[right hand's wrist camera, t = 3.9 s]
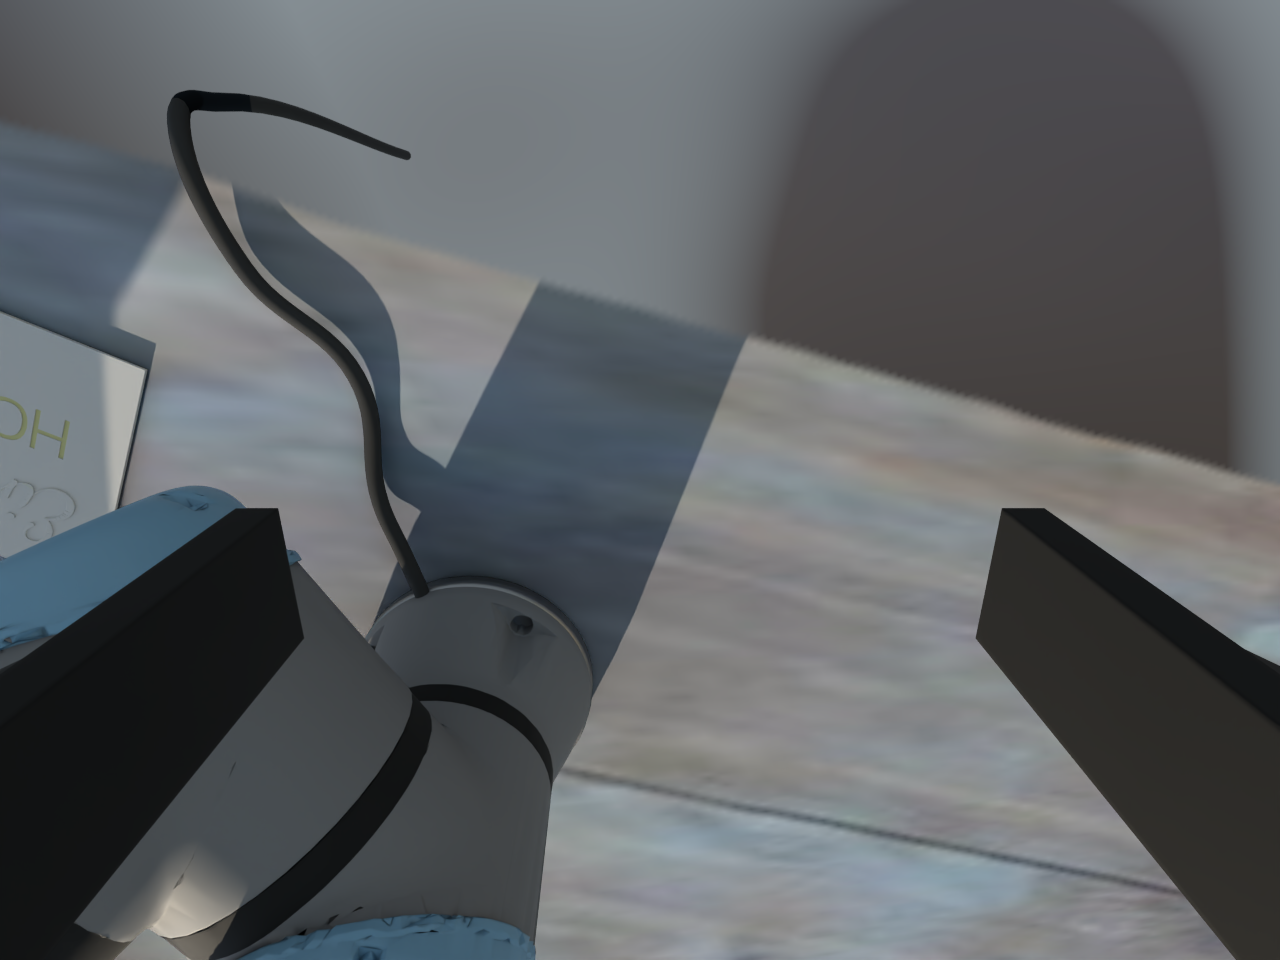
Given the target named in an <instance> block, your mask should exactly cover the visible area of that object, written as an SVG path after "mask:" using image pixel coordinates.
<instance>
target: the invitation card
mask: <svg viewBox="0 0 1280 960" xmlns="http://www.w3.org/2000/svg"><path fill="white" fill-rule="evenodd" d="M146 375H147V369H145V368H142V367H140V366H137V365H135V364H132V363H130V362H127V361H125V360H122V359H119V358H117V357H114V356H112V355H109V354H107V353H104V352H102V351H99V350H97V349H94V348H92V347H89V346H87V345H84V344H82V343H79V342H77V341H74V340H72V339H69V338H67V337H64V336H62V335H59V334H57V333H54V332H52V331H49V330H47V329H44V328H42V327H39V326H37V325H34V324H32V323H29V322H27V321H24V320H21V319H19V318H16V317H14V316H11V315H9V314H6V313H4V312H1V311H0V556H1V557H4V558H7V557H9V556H12V555H14V554H16V553H18V552H20V551H23V550H25V549H27V548H29V547H31V546H34V545H36V544H38V543H40V542H42V541H45V540H47V539H49V538H51V537H54V536H56V535H58V534H61V533H63V532H65V531H67V530H70V529H72V528H74V527H76V526H79V525H81V524H83V523H86V522H88V521H90V520H93V519H95V518H97V517H100V516H102V515H104V514H107V513H109V512H112V511H114V510H117V508H118V503H119V498H120V494H121V489H122V485H123V480H124V475H125V471H126V466H127V462H128V457H129V453H130V448H131V443H132V439H133V434H134V430H135V425H136V420H137V416H138V411H139V407H140V402H141V398H142V393H143V388H144V384H145V379H146Z"/></svg>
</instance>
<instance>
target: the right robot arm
mask: <svg viewBox="0 0 1280 960" xmlns="http://www.w3.org/2000/svg"><path fill="white" fill-rule="evenodd" d="M196 110H199V111H211V112H240V111H241V112H252V113H262V114H267V115H273V116H278V117H283V118H287V119H291V120H294V121H298V122H301V123H305V124H308V125H311V126H314V127H317V128H320V129H323V130H325V131H328V132H331V133H334V134H336V135H339V136H341V137H344V138H347V139H349V140H352V141H354V142H357V143H359V144H362V145H365V146H367V147H370V148H372V149H375V150H377V151H380V152H383V153H385V154H388V155H391V156H394V157H397V158H400V159H404V160H409V159H410V158H411V154H410V152H409V151H406V150H403V149H401V148H398V147H395V146H392V145H389V144H387V143H385V142H382V141H380V140H377V139H375V138H373V137H370V136H368V135H366V134H363V133H361V132H359V131H357V130H354V129H352V128H350V127H347V126H345V125H343V124H340V123H338V122H336V121H333V120H331V119H329V118H326V117H324V116H321V115H319V114H316V113H314V112H311V111H308V110H305V109H303V108H300V107H297V106H294V105H290V104H287V103H284V102H281V101H277V100H273V99H268V98H264V97H260V96H253V95H247V94H240V93H219V92H206V91H199V90H186V91H182V92H179V93H177V94H175V95H174V96H173V97H172V99H171V102H170V104H169V106H168V111H167V125H168V134H169V139H170V144H171V148H172V152H173V156H174V159H175V162H176V165H177V168H178V171H179V174H180V176H181V179H182V181H183V184H184V186H185V189H186V191H187V193H188V195H189V197H190V199H191V201H192V203H193V205H194V207H195V209H196V211H197V213H198V215H199V217H200V219H201V220H202V222H203V224H204V226H205V227H206V229H207V231H208V232H209V234H210V236H211V237H212V239H213V240H214V242H215V244H216V245H217V247H218V248H219V250H220V251H221V253H222V254H223V256H224V257H225V259H226V260H227V262H228V263H229V265H230V266H231V267H232V269H233V270H234V272H235V273H236V274H237V276H238V277H239V278H240V279H241V281H242V282H243V283H244V284H245V286H246V287H247V288H248V289H249V290H250V291H251V292H252V293H253V294H254V295H255V296H256V297H257V298H258V299H259V300H260V301H261V302H262V303H264V304H265V305H266V306H267V307H268V308H269V309H271V310H272V311H273V312H274V313H276V314H277V315H278V316H280V317H281V318H282V319H284V320H285V321H287V322H288V323H289V324H291V325H292V326H294V327H295V328H296V329H298V330H299V331H301V332H302V333H303V334H305V335H306V336H307V337H309V338H310V339H311V340H313V341H314V342H315V343H317V344H318V345H319V346H320V347H321V348H322V349H323V350H325V351H326V352H327V353H328V354H329V355H330V356H331V357H332V358H333V359H334V361H335V362H336V363H337V364H338V366H339V367H340V368H341V369H342V371H343V373H344V374H345V376H346V377H347V379H348V380H349V382H350V384H351V386H352V388H353V390H354V393H355V395H356V398H357V401H358V404H359V408H360V411H361V417H362V423H363V433H364V454H365V471H366V479H367V485H368V490H369V494H370V498H371V501H372V505H373V508H374V511H375V513H376V516H377V518H378V521H379V523H380V525H381V527H382V529H383V531H384V533H385V535H386V537H387V539H388V541H389V543H390V545H391V547H392V549H393V551H394V553H395V555H396V557H397V560H398V562H399V564H400V566H401V568H402V570H403V573H404V575H405V577H406V579H407V581H408V583H409V585H410V587H411V591H409V592H407V593H406V594H404V595H402V596H401V597H399V598H398V599H397V600H395V601H394V602H393V603H392V604H391V605H390V606H389V607H387V608H386V609H385V610H384V612H383V613H382V614H381V615H380V616H379V617H378V619H377V620H376V622H375V623H374V625H373V626H372V628H371V630H370V631H369V633H368V634H367V636H366V638H365V639H364V637H363V636H362V635H361V634H360V633H359V632H358V631H357V629H356V628H355V627H354V626H353V625H352V624H351V623H350V621H349V620H348V619H347V618H346V617H345V616H344V615H343V613H342V612H341V611H340V610H339V609H338V608H337V606H336V605H335V604H334V603H333V602H332V601H331V600H330V598H329V597H328V596H327V595H326V594H325V593H324V592H323V590H322V589H321V588H320V587H319V586H318V585H317V584H316V582H315V581H314V580H313V579H312V578H311V577H310V576H309V574H308V573H307V572H306V571H305V570H304V569H303V568H302V566H301V565H300V564H299V563H298V562H297V561H300V560H301V557H300V556H299V554H298V553H297V552H296V551H292V550H287V549H286V545H285V540H284V535H283V531H282V526H281V521H280V516H279V511H278V508H245V507H244V506H243V505H242V504H241V503H240V502H239V501H238V500H237V499H235V498H234V497H233V496H231V495H230V494H228V493H226V492H224V491H222V490H219V489H216V488H212V487H206V486H186V487H180V488H174V489H171V490H167V491H164V492H161V493H158V494H155V495H152V496H149V497H147V498H144V499H142V500H139V501H137V502H134V503H132V504H129V505H127V506H124V507H122V508H119V509H117V510H114V511H112V512H109V513H107V514H104V515H102V516H100V517H97V518H95V519H93V520H90V521H88V522H86V523H83V524H81V525H79V526H76V527H74V528H72V529H70V530H67V531H65V532H63V533H61V534H58V535H56V536H54V537H51V538H49V539H47V540H45V541H42V542H40V543H38V544H36V545H34V546H31V547H29V548H27V549H25V550H23V551H20V552H18V553H16V554H14V555H12V556H9V557H7V558H5V559H3V560H1V561H0V960H114V959H115V958H116V957H117V956H118V955H119V954H120V953H121V952H122V951H123V950H124V949H125V948H126V947H127V946H128V945H129V944H130V943H131V942H132V941H133V940H134V939H135V938H136V937H137V936H138V935H139V934H140V933H142V932H143V931H144V930H146V929H150V930H152V931H153V932H155V933H156V934H158V935H159V936H161V937H163V938H164V939H165V940H167V941H168V942H169V943H170V944H171V945H173V946H174V947H175V948H176V949H178V950H179V951H180V952H181V953H183V954H184V955H185V956H186V958H187V959H189V960H535V954H536V951H535V946H534V945H535V936H536V927H537V918H538V909H539V900H540V890H541V881H542V872H543V863H544V854H545V845H546V836H547V827H548V818H549V809H550V799H551V791H552V784H553V782H554V780H555V778H556V777H557V775H558V773H559V772H560V770H561V768H562V767H563V765H564V763H565V761H566V759H567V758H568V756H569V754H570V752H571V750H572V749H573V747H574V746H575V745H576V743H577V742H578V740H579V738H580V736H581V734H582V732H583V729H584V727H585V724H586V721H587V717H588V714H589V710H590V706H591V699H592V687H593V673H592V665H591V660H590V656H589V653H588V650H587V647H586V645H585V643H584V641H583V639H582V637H581V635H580V634H579V632H578V630H577V629H576V627H575V626H574V625H573V624H572V622H571V621H570V620H569V619H568V618H567V617H566V615H565V614H564V613H563V612H562V611H560V610H559V609H558V608H557V607H556V606H555V605H554V604H552V603H551V602H549V601H548V600H547V599H545V598H544V597H542V596H540V595H539V594H537V593H535V592H533V591H531V590H529V589H527V588H525V587H522V586H520V585H517V584H514V583H511V582H508V581H504V580H500V579H494V578H488V577H479V576H462V577H452V578H446V579H441V580H437V581H433V582H430V583H426V581H425V579H424V577H423V575H422V573H421V570H420V568H419V566H418V564H417V562H416V560H415V557H414V555H413V553H412V551H411V549H410V547H409V544H408V542H407V540H406V538H405V536H404V534H403V532H402V530H401V528H400V526H399V524H398V522H397V520H396V518H395V516H394V514H393V511H392V509H391V506H390V503H389V500H388V497H387V493H386V490H385V485H384V479H383V471H382V458H381V431H380V420H379V414H378V408H377V404H376V400H375V397H374V394H373V391H372V389H371V386H370V384H369V382H368V380H367V378H366V376H365V374H364V372H363V370H362V369H361V367H360V365H359V364H358V362H357V361H356V359H355V358H354V357H353V356H352V354H351V353H350V352H349V350H348V349H347V348H346V347H345V346H344V345H343V344H342V343H341V342H340V341H339V340H338V339H337V338H336V337H335V336H333V335H332V334H331V333H330V332H329V331H328V330H326V329H325V328H324V327H322V326H321V325H320V324H319V323H317V322H316V321H314V320H313V319H312V318H310V317H309V316H308V315H306V314H305V313H303V312H302V311H301V310H299V309H298V308H296V307H295V306H294V305H292V304H291V303H290V302H288V301H287V300H286V299H285V298H283V297H282V296H281V295H280V294H279V293H278V292H276V291H275V290H274V289H273V288H272V287H271V286H270V285H269V284H268V283H267V282H266V281H265V280H264V279H263V278H262V276H261V275H260V274H259V273H258V271H257V270H256V269H255V268H254V266H253V265H252V264H251V262H250V261H249V259H248V258H247V256H246V255H245V253H244V252H243V250H242V249H241V247H240V246H239V244H238V243H237V241H236V240H235V238H234V236H233V235H232V233H231V232H230V230H229V228H228V227H227V225H226V223H225V221H224V220H223V218H222V216H221V214H220V212H219V211H218V209H217V207H216V205H215V203H214V201H213V199H212V197H211V195H210V192H209V190H208V188H207V186H206V183H205V181H204V178H203V176H202V173H201V171H200V168H199V165H198V162H197V158H196V155H195V151H194V147H193V142H192V136H191V128H190V117H191V113H192V112H193V111H196ZM976 639H977V640H978V642H979V643H980V644H981V645H982V647H983V648H984V649H985V650H986V652H987V653H988V654H989V655H990V657H991V658H992V659H993V660H994V661H995V663H996V664H997V665H998V666H999V668H1000V669H1001V670H1002V671H1003V673H1004V674H1005V675H1006V676H1007V678H1008V679H1009V680H1010V681H1011V682H1012V684H1013V685H1014V686H1015V687H1016V689H1017V690H1018V691H1019V692H1020V694H1021V695H1022V696H1023V697H1024V699H1025V700H1026V701H1027V702H1028V703H1029V705H1030V706H1031V707H1032V708H1033V710H1034V711H1035V712H1036V713H1037V715H1038V716H1039V717H1040V718H1041V720H1042V721H1043V722H1044V723H1045V724H1046V726H1047V727H1048V728H1049V729H1050V731H1051V732H1052V733H1053V734H1054V736H1055V737H1056V738H1057V739H1058V741H1059V742H1060V743H1061V744H1062V745H1063V747H1064V748H1065V749H1066V750H1067V752H1068V753H1069V754H1070V755H1071V757H1072V758H1073V759H1074V760H1075V762H1076V763H1077V764H1078V765H1079V766H1080V768H1081V769H1082V770H1083V771H1084V773H1085V774H1086V775H1087V776H1088V778H1089V779H1090V780H1091V781H1092V783H1093V784H1094V785H1095V786H1096V787H1097V789H1098V790H1099V791H1100V792H1101V794H1102V795H1103V796H1104V797H1105V799H1106V800H1107V801H1108V802H1109V804H1110V805H1111V806H1112V807H1113V808H1114V810H1115V811H1116V812H1117V813H1118V815H1119V816H1120V817H1121V818H1122V820H1123V821H1124V822H1125V823H1126V824H1127V826H1128V827H1129V828H1130V829H1131V831H1132V832H1133V833H1134V834H1135V836H1136V837H1137V838H1138V839H1139V841H1140V842H1141V843H1142V844H1143V845H1144V847H1145V848H1146V849H1147V850H1148V852H1149V853H1150V854H1151V855H1152V857H1153V858H1154V859H1155V860H1156V862H1157V863H1158V864H1159V865H1160V866H1161V868H1162V869H1163V870H1164V871H1165V873H1166V874H1167V875H1168V876H1169V878H1170V879H1171V880H1172V881H1173V883H1174V884H1175V885H1176V886H1177V887H1178V889H1179V890H1180V891H1181V892H1182V894H1183V895H1184V896H1185V897H1186V899H1187V900H1188V901H1189V902H1190V904H1191V905H1192V906H1193V907H1194V908H1195V910H1196V911H1197V912H1198V913H1199V915H1200V916H1201V917H1202V918H1203V920H1204V921H1205V922H1206V923H1207V925H1208V926H1209V927H1210V928H1211V929H1212V931H1213V932H1214V933H1215V934H1216V936H1217V937H1218V938H1219V939H1220V941H1221V942H1222V943H1223V944H1224V946H1225V947H1226V948H1227V949H1228V950H1229V952H1230V953H1231V954H1232V955H1233V957H1234V958H1235V959H1236V960H1280V666H1279V665H1277V664H1274V663H1272V662H1270V661H1268V660H1266V659H1264V658H1262V657H1260V656H1258V655H1255V654H1253V653H1251V652H1249V651H1247V650H1245V649H1243V648H1242V647H1241V646H1239V645H1238V644H1236V643H1235V642H1233V641H1232V640H1231V639H1229V638H1228V637H1226V636H1225V635H1224V634H1222V633H1221V632H1219V631H1218V630H1216V629H1215V628H1214V627H1212V626H1211V625H1209V624H1208V623H1206V622H1205V621H1204V620H1202V619H1201V618H1199V617H1198V616H1197V615H1195V614H1194V613H1192V612H1191V611H1189V610H1188V609H1187V608H1185V607H1184V606H1182V605H1181V604H1179V603H1178V602H1177V601H1175V600H1174V599H1172V598H1171V597H1170V596H1168V595H1167V594H1165V593H1164V592H1162V591H1161V590H1160V589H1158V588H1157V587H1155V586H1154V585H1152V584H1151V583H1150V582H1148V581H1147V580H1145V579H1144V578H1143V577H1141V576H1140V575H1138V574H1137V573H1135V572H1134V571H1133V570H1131V569H1130V568H1128V567H1127V566H1126V565H1124V564H1123V563H1121V562H1120V561H1118V560H1117V559H1116V558H1114V557H1113V556H1111V555H1110V554H1108V553H1107V552H1106V551H1104V550H1103V549H1101V548H1100V547H1099V546H1097V545H1096V544H1094V543H1093V542H1091V541H1090V540H1089V539H1087V538H1086V537H1084V536H1083V535H1081V534H1080V533H1079V532H1077V531H1076V530H1074V529H1073V528H1072V527H1070V526H1069V525H1067V524H1066V523H1064V522H1063V521H1062V520H1060V519H1059V518H1057V517H1056V516H1054V515H1053V514H1052V513H1050V512H1049V511H1047V510H1046V509H1045V508H1002V511H1001V516H1000V521H999V526H998V531H997V535H996V540H995V545H994V550H993V555H992V560H991V565H990V570H989V575H988V580H987V585H986V590H985V595H984V600H983V605H982V610H981V615H980V619H979V624H978V629H977V634H976Z"/></svg>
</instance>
